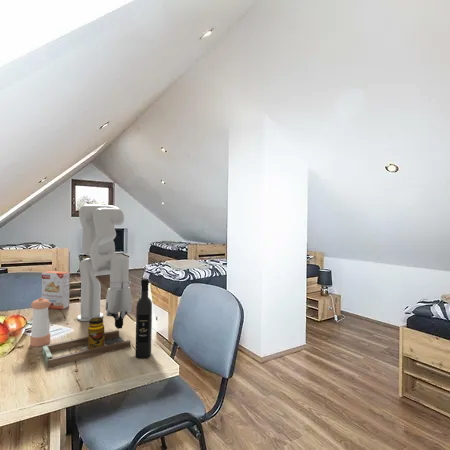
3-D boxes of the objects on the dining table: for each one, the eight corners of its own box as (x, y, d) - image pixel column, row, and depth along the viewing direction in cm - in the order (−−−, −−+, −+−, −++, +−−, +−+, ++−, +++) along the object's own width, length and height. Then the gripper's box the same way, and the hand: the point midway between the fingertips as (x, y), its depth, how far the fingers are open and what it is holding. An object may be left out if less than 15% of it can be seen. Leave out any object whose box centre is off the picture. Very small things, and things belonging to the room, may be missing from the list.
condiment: (96, 353, 122) (96, 323, 121) (80, 349, 125) (79, 320, 124) (109, 345, 129) (109, 317, 128) (93, 342, 132) (93, 314, 131)
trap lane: (41, 352, 122) (41, 344, 121) (117, 335, 140) (117, 329, 140) (48, 367, 110) (48, 359, 110) (130, 347, 129) (130, 339, 128)
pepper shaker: (38, 347, 126) (39, 300, 125) (26, 344, 128) (26, 298, 128) (54, 341, 133) (54, 296, 132) (41, 338, 135) (42, 294, 135)
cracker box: (40, 308, 178) (41, 272, 178) (48, 305, 184) (48, 270, 184) (62, 310, 176) (63, 273, 175) (69, 307, 182) (70, 271, 181)
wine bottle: (150, 358, 119) (151, 280, 118) (135, 359, 118) (136, 280, 117) (151, 352, 124) (152, 277, 124) (136, 352, 123) (138, 277, 123)
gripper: (132, 281, 140) (132, 322, 140) (98, 285, 130) (98, 329, 130) (139, 284, 134) (139, 326, 134) (104, 288, 125) (103, 334, 125)
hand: (119, 327), depth 132 cm, fingers closed
